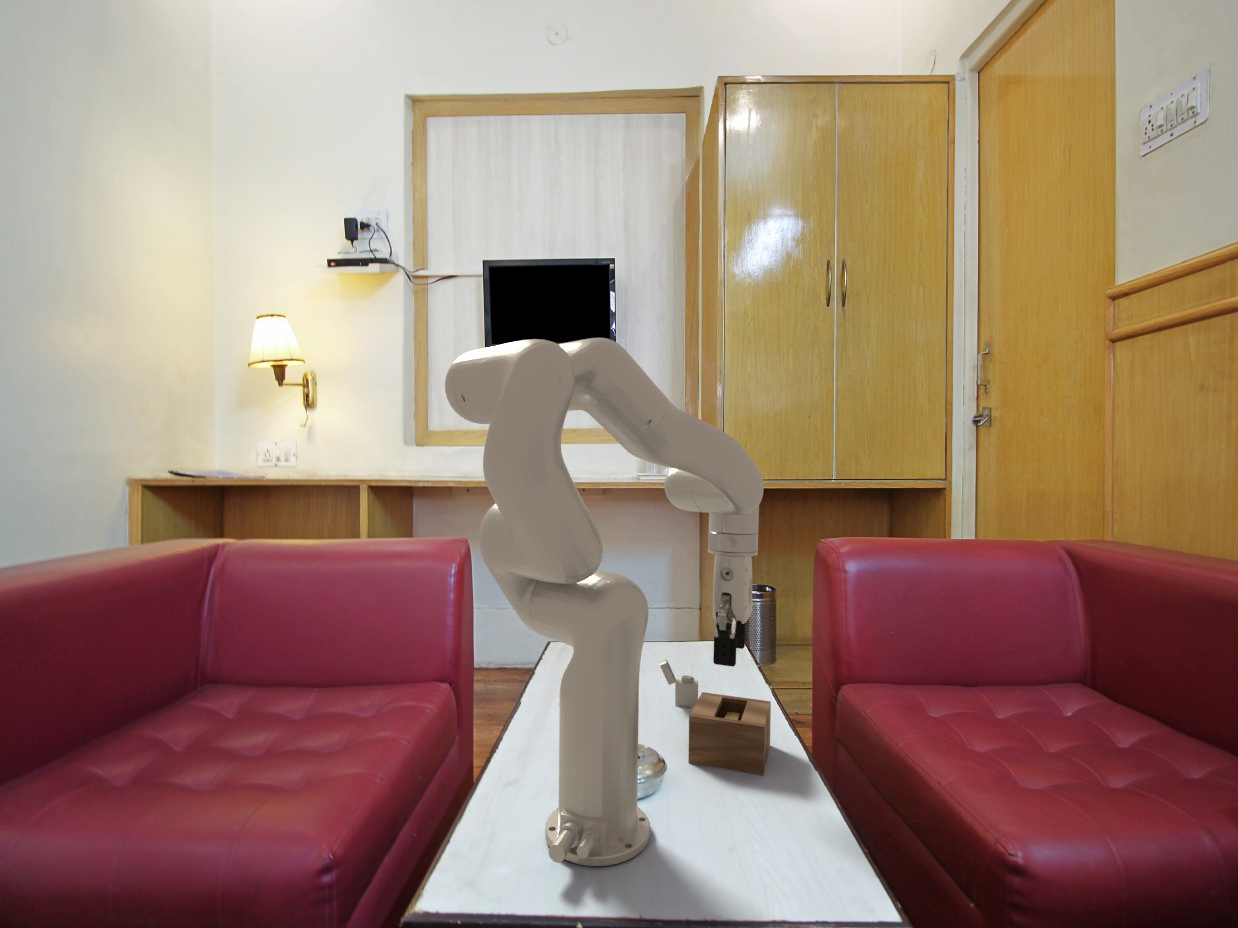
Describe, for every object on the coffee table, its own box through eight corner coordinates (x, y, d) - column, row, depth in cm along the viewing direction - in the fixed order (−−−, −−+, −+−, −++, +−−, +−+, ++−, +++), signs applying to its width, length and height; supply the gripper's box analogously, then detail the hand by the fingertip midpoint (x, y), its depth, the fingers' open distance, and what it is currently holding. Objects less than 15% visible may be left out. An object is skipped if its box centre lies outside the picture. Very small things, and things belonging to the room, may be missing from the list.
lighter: (698, 703, 115) (698, 660, 115) (697, 707, 113) (698, 663, 113) (659, 701, 116) (660, 658, 116) (659, 704, 114) (659, 661, 114)
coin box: (763, 775, 89) (764, 727, 89) (688, 762, 92) (689, 715, 92) (770, 745, 98) (770, 701, 98) (701, 734, 102) (702, 692, 102)
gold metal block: (735, 759, 93) (735, 726, 93) (721, 757, 93) (722, 724, 93) (739, 745, 97) (739, 713, 97) (726, 742, 98) (727, 711, 98)
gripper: (750, 552, 85) (747, 676, 85) (763, 540, 102) (760, 644, 102) (697, 548, 88) (693, 669, 88) (718, 537, 104) (715, 638, 104)
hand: (729, 655), depth 95 cm, fingers open, 9 cm apart
